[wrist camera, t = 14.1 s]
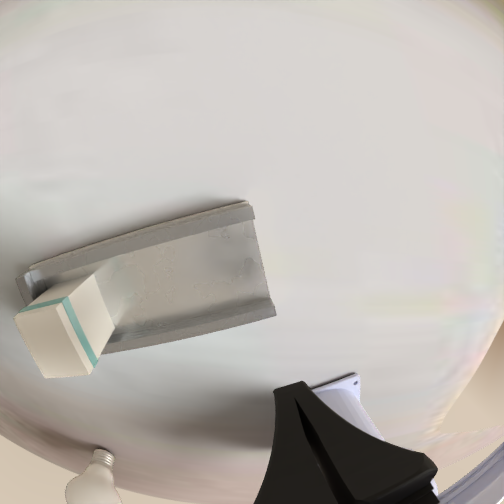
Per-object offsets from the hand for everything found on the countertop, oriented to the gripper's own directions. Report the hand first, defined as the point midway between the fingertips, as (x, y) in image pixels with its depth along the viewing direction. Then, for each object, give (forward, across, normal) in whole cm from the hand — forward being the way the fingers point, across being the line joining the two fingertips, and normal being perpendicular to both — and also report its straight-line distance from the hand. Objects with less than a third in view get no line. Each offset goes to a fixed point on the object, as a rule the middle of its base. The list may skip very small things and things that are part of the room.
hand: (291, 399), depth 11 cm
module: (+10, +13, -3) cm, 16 cm away
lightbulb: (+10, +22, +16) cm, 29 cm away
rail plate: (+10, +8, -4) cm, 14 cm away
